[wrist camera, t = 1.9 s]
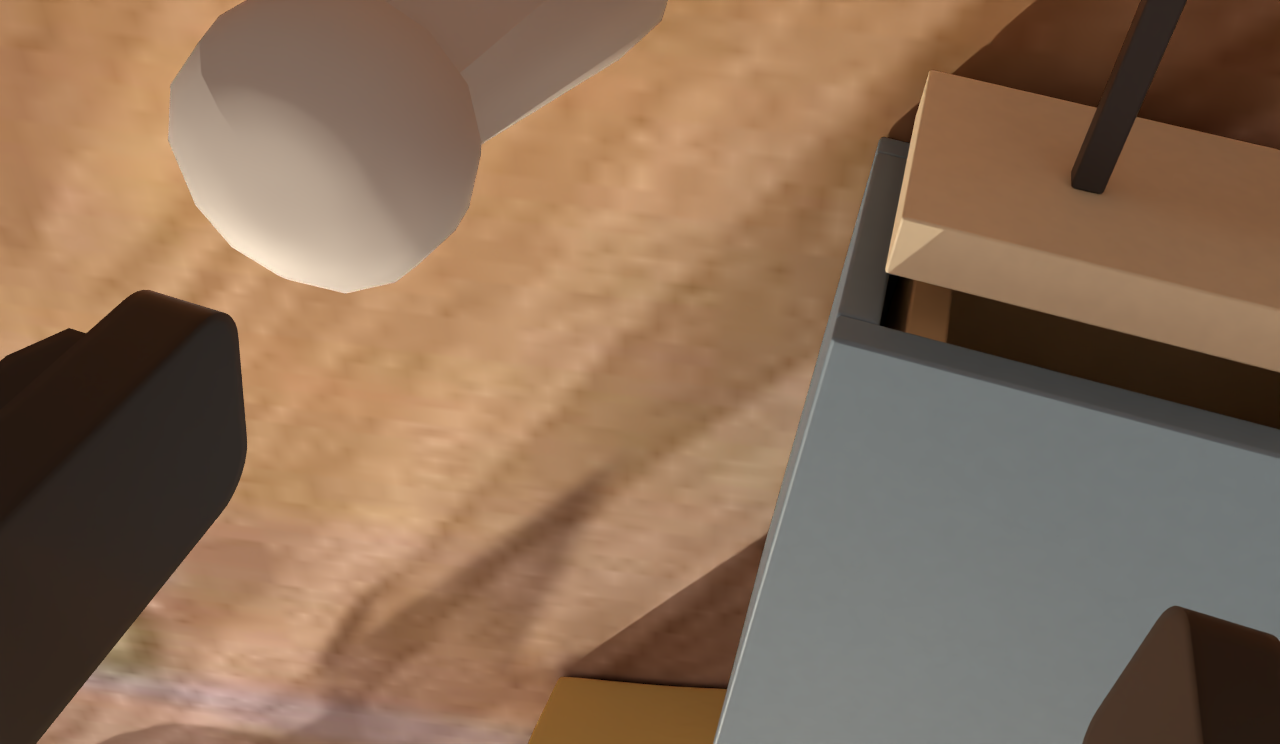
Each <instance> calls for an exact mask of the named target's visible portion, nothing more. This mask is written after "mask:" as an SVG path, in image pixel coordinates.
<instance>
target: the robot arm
mask: <svg viewBox="0 0 1280 744" xmlns="http://www.w3.org/2000/svg"><path fill="white" fill-rule="evenodd" d="M246 452H247V434H246V422H245V410H244V399H243V387H242V375H241V363H240V351H239V339H238V332H237V327H236V324H235V322H234V320H233V319H232V318H231V317H230V316H229V315H228V314H226V313H223V312H220V311H216V310H213V309H210V308H207V307H203V306H200V305H197V304H193V303H190V302H187V301H183V300H180V299H177V298H174V297H170V296H167V295H164V294H160V293H157V292H154V291H151V290H141V291H137V292H135V293H133V294H131V295H130V296H129V297H127V298H126V299H125V300H124V301H122V302H121V303H120V304H119V305H118V306H117V307H116V308H115V309H113V310H112V311H111V312H110V313H109V314H108V315H107V316H106V317H104V318H103V319H102V320H101V321H100V322H99V323H98V324H97V325H95V326H94V327H93V328H92V329H91V330H90V331H89V332H87V333H83V332H80V331H76V330H73V329H70V328H68V329H66V330H64V331H62V332H59V333H57V334H55V335H53V336H50V337H48V338H46V339H44V340H41V341H39V342H37V343H35V344H32V345H30V346H28V347H25V348H23V349H21V350H19V351H16V352H14V353H12V354H10V355H7V356H6V357H5V358H3V359H2V360H1V361H0V744H36V743H37V742H38V741H39V739H40V738H41V737H42V736H43V734H44V733H45V732H46V731H47V729H48V728H49V727H50V726H51V724H52V723H53V722H54V721H55V719H56V718H57V717H58V716H59V714H60V713H61V712H62V711H63V709H64V708H65V707H66V706H67V704H68V703H69V702H70V701H71V699H72V698H73V697H74V696H75V694H76V693H77V692H78V691H79V689H80V688H81V687H82V686H83V684H84V683H85V682H86V681H87V680H88V678H89V677H90V676H91V675H92V673H93V672H94V671H95V670H96V668H97V667H98V666H99V665H100V663H101V662H102V661H103V660H104V658H105V657H106V656H107V655H108V653H109V652H110V651H111V650H112V648H113V647H114V646H115V645H116V643H117V642H118V641H119V640H120V638H121V637H122V636H123V635H124V633H125V632H126V631H127V630H128V628H129V627H130V626H131V625H132V623H133V622H134V621H135V620H136V618H137V617H138V616H139V615H140V614H141V612H142V611H143V610H144V609H145V607H146V606H147V605H148V604H149V602H150V601H151V600H152V599H153V597H154V596H155V595H156V594H157V592H158V591H159V590H160V589H161V587H162V586H163V585H164V584H165V582H166V581H167V580H168V579H169V577H170V576H171V575H172V574H173V572H174V571H175V570H176V569H177V567H178V566H179V565H180V564H181V562H182V561H183V560H184V559H185V557H186V556H187V555H188V554H189V552H190V551H191V550H192V549H193V548H194V546H195V545H196V544H197V543H198V541H199V540H200V539H201V538H202V536H203V535H204V534H205V533H206V531H207V530H208V529H209V528H210V526H211V525H212V524H213V523H214V521H215V520H216V519H217V518H218V516H219V515H220V514H221V513H222V511H223V510H224V509H225V507H226V506H227V504H228V503H229V501H230V499H231V498H232V496H233V494H234V492H235V490H236V487H237V485H238V483H239V480H240V477H241V474H242V471H243V467H244V464H245V459H246ZM1082 744H1280V641H1279V639H1278V638H1277V637H1275V636H1274V635H1272V634H1269V633H1266V632H1263V631H1259V630H1256V629H1253V628H1249V627H1246V626H1243V625H1240V624H1236V623H1233V622H1230V621H1226V620H1223V619H1220V618H1216V617H1213V616H1210V615H1207V614H1203V613H1200V612H1197V611H1193V610H1190V609H1187V608H1184V607H1180V606H1172V607H1170V608H1168V609H1167V610H1165V611H1164V612H1163V613H1162V614H1161V616H1160V617H1159V618H1158V620H1157V621H1156V622H1155V624H1154V625H1153V627H1152V628H1151V630H1150V631H1149V633H1148V634H1147V636H1146V637H1145V639H1144V640H1143V642H1142V643H1141V645H1140V646H1139V648H1138V649H1137V651H1136V652H1135V654H1134V655H1133V657H1132V658H1131V660H1130V661H1129V663H1128V664H1127V666H1126V667H1125V669H1124V670H1123V672H1122V673H1121V675H1120V676H1119V678H1118V679H1117V681H1116V682H1115V684H1114V685H1113V687H1112V688H1111V690H1110V691H1109V693H1108V694H1107V696H1106V697H1105V699H1104V700H1103V702H1102V703H1101V705H1100V706H1099V708H1098V709H1097V711H1096V713H1095V714H1094V716H1093V718H1092V720H1091V722H1090V724H1089V726H1088V729H1087V731H1086V734H1085V737H1084V740H1083V743H1082Z"/></svg>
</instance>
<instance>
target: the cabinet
mask: <svg viewBox="0 0 1280 744" xmlns="http://www.w3.org/2000/svg"><path fill="white" fill-rule="evenodd" d="M909 147H910V143H907V142H902V141H898V140H894V139H890V138H886V137H882V138H881V139H880V140H879V143H878V147H877V150H876V154H875V157H874V161H873V164H872V168H871V171H870V175H869V178H868V182H867V185H866V189H865V193H864V196H863V200H862V203H861V207H860V210H859V214H858V217H857V221H856V224H855V228H854V231H853V235H852V238H851V242H850V245H849V249H848V252H847V256H846V260H845V263H844V267H843V270H842V274H841V277H840V281H839V284H838V288H837V291H836V295H835V298H834V302H833V305H832V309H831V312H830V316H829V320H828V323H827V327H826V330H825V334H824V337H823V341H822V344H821V348H820V351H819V355H818V358H817V362H816V365H815V369H814V372H813V376H812V380H811V383H810V387H809V390H808V394H807V397H806V401H805V404H804V408H803V411H802V415H801V418H800V422H799V425H798V429H797V432H796V436H795V439H794V443H793V447H792V450H791V454H790V457H789V461H788V464H787V468H786V471H785V475H784V478H783V482H782V485H781V489H780V492H779V496H778V499H777V503H776V507H775V510H774V514H773V517H772V521H771V524H770V528H769V531H768V535H767V538H766V542H765V545H764V549H763V552H762V556H761V560H760V564H759V568H758V572H757V575H756V579H755V583H754V587H753V591H752V595H751V599H750V602H749V606H748V610H747V614H746V618H745V622H744V626H743V629H742V633H741V637H740V641H739V645H738V649H737V653H736V656H735V660H734V664H733V668H732V672H731V676H730V680H729V684H728V687H727V691H726V695H725V699H724V703H723V707H722V711H721V714H720V718H719V722H718V726H717V730H716V734H715V738H714V741H713V744H1082V743H1083V740H1084V737H1085V734H1086V731H1087V729H1088V726H1089V724H1090V722H1091V720H1092V718H1093V716H1094V714H1095V713H1096V711H1097V709H1098V708H1099V706H1100V705H1101V703H1102V702H1103V700H1104V699H1105V697H1106V696H1107V694H1108V693H1109V691H1110V690H1111V688H1112V687H1113V685H1114V684H1115V682H1116V681H1117V679H1118V678H1119V676H1120V675H1121V673H1122V672H1123V670H1124V669H1125V667H1126V666H1127V664H1128V663H1129V661H1130V660H1131V658H1132V657H1133V655H1134V654H1135V652H1136V651H1137V649H1138V648H1139V646H1140V645H1141V643H1142V642H1143V640H1144V639H1145V637H1146V636H1147V634H1148V633H1149V631H1150V630H1151V628H1152V627H1153V625H1154V624H1155V622H1156V621H1157V620H1158V618H1159V617H1160V616H1161V614H1162V613H1163V612H1164V611H1165V610H1167V609H1168V608H1170V607H1172V606H1180V607H1184V608H1187V609H1190V610H1193V611H1197V612H1200V613H1203V614H1207V615H1210V616H1213V617H1216V618H1220V619H1223V620H1226V621H1230V622H1233V623H1236V624H1240V625H1243V626H1246V627H1249V628H1253V629H1256V630H1259V631H1263V632H1266V633H1269V634H1272V635H1274V636H1275V637H1277V638H1278V639H1279V641H1280V429H1276V428H1272V427H1268V426H1264V425H1261V424H1257V423H1253V422H1249V421H1245V420H1241V419H1238V418H1234V417H1230V416H1226V415H1222V414H1218V413H1214V412H1211V411H1207V410H1203V409H1199V408H1195V407H1191V406H1187V405H1184V404H1180V403H1176V402H1172V401H1168V400H1164V399H1160V398H1157V397H1153V396H1149V395H1145V394H1141V393H1137V392H1133V391H1130V390H1126V389H1122V388H1118V387H1114V386H1110V385H1107V384H1103V383H1099V382H1095V381H1091V380H1087V379H1083V378H1080V377H1076V376H1072V375H1068V374H1064V373H1060V372H1056V371H1053V370H1049V369H1045V368H1041V367H1037V366H1033V365H1029V364H1026V363H1022V362H1018V361H1014V360H1010V359H1006V358H1003V357H999V356H995V355H991V354H987V353H983V352H979V351H976V350H972V349H968V348H964V347H960V346H956V345H952V344H949V343H945V342H941V341H937V340H933V339H929V338H925V337H922V336H918V335H914V334H910V333H906V332H902V331H898V330H895V329H891V328H887V327H884V323H885V320H886V317H887V314H888V311H889V308H890V305H891V302H892V299H893V296H894V292H895V289H896V286H897V283H898V280H899V277H900V276H897V275H893V274H889V273H887V272H886V271H885V268H886V263H887V258H888V253H889V247H890V242H891V237H892V232H893V227H894V222H895V217H896V212H897V207H898V202H899V197H900V192H901V187H902V182H903V177H904V172H905V167H906V162H907V157H908V152H909Z"/></svg>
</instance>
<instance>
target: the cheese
mask: <svg viewBox="0 0 1280 744" xmlns="http://www.w3.org/2000/svg"><path fill="white" fill-rule="evenodd" d="M726 691H727V689H713V688H694V687H676V686H661V685H650V684H639V683H628V682H618V681H607V680H597V679H586V678H575V677H560V678H559V679H558V681H557V683H556V685H555V687H554V689H553V691H552V693H551V695H550V697H549V700H548V702H547V704H546V706H545V708H544V710H543V712H542V714H541V716H540V718H539V720H538V722H537V724H536V726H535V728H534V731H533V733H532V735H531V738H530V740H529V743H528V744H713V741H714V738H715V734H716V730H717V726H718V722H719V718H720V714H721V711H722V707H723V703H724V699H725V695H726Z"/></svg>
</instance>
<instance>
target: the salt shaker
mask: <svg viewBox="0 0 1280 744" xmlns="http://www.w3.org/2000/svg"><path fill="white" fill-rule="evenodd" d="M667 1H668V0H246V1H244V2H242V3H241V4H239V5H237V6H235V7H234V8H232V9H230V10H228V11H227V12H225V13H223V14H222V15H220V16H219V17H218V18H217V20H216V21H215V22H214V23H213V25H212V26H211V27H210V28H209V30H208V31H207V32H206V33H205V35H204V36H203V37H202V39H201V40H200V41H199V43H198V44H197V46H196V47H195V49H194V50H193V52H192V53H191V55H190V56H189V58H188V59H187V61H186V62H185V64H184V65H183V67H182V68H181V70H180V71H179V73H178V74H177V76H176V77H175V79H174V80H173V82H172V83H171V86H170V110H169V133H168V141H169V143H170V146H171V148H172V150H173V153H174V155H175V158H176V160H177V162H178V165H179V167H180V170H181V172H182V174H183V177H184V179H185V181H186V184H187V186H188V188H189V191H190V193H191V196H192V198H193V200H194V203H195V205H196V206H197V207H198V208H199V210H200V211H201V212H202V213H203V214H204V215H205V217H206V218H207V219H208V220H209V221H210V222H211V224H212V225H213V226H214V227H215V228H216V229H217V231H218V232H219V233H220V234H221V235H222V236H223V238H224V239H225V240H226V241H227V242H228V243H229V245H230V246H231V247H232V248H234V249H236V250H237V251H239V252H241V253H242V254H244V255H245V256H247V257H249V258H250V259H252V260H254V261H255V262H257V263H259V264H260V265H262V266H264V267H265V268H267V269H268V270H270V271H272V272H273V273H275V274H277V275H278V276H281V277H283V278H285V279H288V280H291V281H295V282H300V283H304V284H308V285H312V286H316V287H321V288H325V289H329V290H333V291H338V292H342V293H350V292H354V291H359V290H363V289H368V288H372V287H377V286H381V285H386V284H390V283H395V282H397V281H398V280H399V279H400V278H402V277H403V276H404V275H406V274H407V273H408V272H409V271H411V270H412V269H413V268H415V267H416V266H417V265H418V264H419V263H421V262H422V261H423V260H424V259H425V258H426V257H427V256H428V255H429V254H430V253H431V252H432V251H434V250H435V249H436V248H437V247H438V246H439V245H440V244H441V243H442V242H443V241H444V240H445V239H447V238H448V237H449V236H450V235H451V234H452V233H453V232H454V231H455V230H456V228H457V227H458V225H459V223H460V222H461V220H462V218H463V216H464V215H465V213H466V211H467V210H468V208H469V205H470V200H471V196H472V191H473V187H474V182H475V178H476V174H477V169H478V165H479V160H480V156H481V144H483V143H484V142H486V141H488V140H489V139H491V138H493V137H494V136H496V135H497V134H499V133H501V132H502V131H504V130H506V129H507V128H509V127H510V126H512V125H514V124H515V123H517V122H519V121H520V120H522V119H523V118H525V117H527V116H528V115H530V114H532V113H533V112H535V111H536V110H538V109H540V108H541V107H543V106H545V105H546V104H548V103H549V102H551V101H553V100H554V99H556V98H558V97H559V96H561V95H562V94H564V93H566V92H567V91H569V90H571V89H572V88H574V87H575V86H577V85H579V84H580V83H582V82H583V81H585V80H587V79H588V78H590V77H592V76H593V75H595V74H596V73H598V72H600V71H601V70H603V69H605V68H606V67H608V66H609V65H611V64H613V63H614V62H616V61H618V60H619V59H620V58H621V57H622V56H624V55H625V54H626V53H627V52H628V51H629V50H630V49H631V48H632V47H633V46H634V45H636V44H637V43H638V42H639V41H640V40H641V39H642V38H643V37H644V36H645V35H646V34H648V33H649V32H650V31H651V30H652V29H653V28H654V27H655V26H656V25H657V24H658V23H659V22H661V20H662V17H663V14H664V11H665V7H666V4H667Z"/></svg>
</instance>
